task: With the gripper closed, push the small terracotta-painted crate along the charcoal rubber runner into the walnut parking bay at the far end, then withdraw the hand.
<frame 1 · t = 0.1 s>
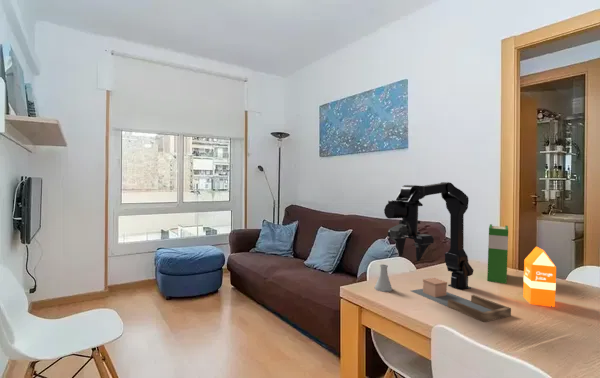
hand: (409, 258, 127), 15 cm above the table, tool pointing down, fingers open, 9 cm apart
flask: (383, 290, 135), on the table
hardback book: (496, 278, 156), on the table
parking bay: (477, 310, 113), resting on runner mat
crate: (434, 293, 130), resting on runner mat
orange juice: (538, 302, 124), on the table
runner mat: (455, 302, 121), on the table
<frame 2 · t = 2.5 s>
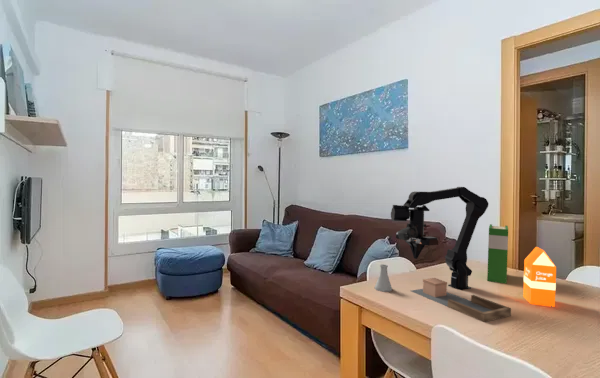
hand: (415, 258, 139), 12 cm above the table, tool pointing down, fingers closed
nothing on the table moved.
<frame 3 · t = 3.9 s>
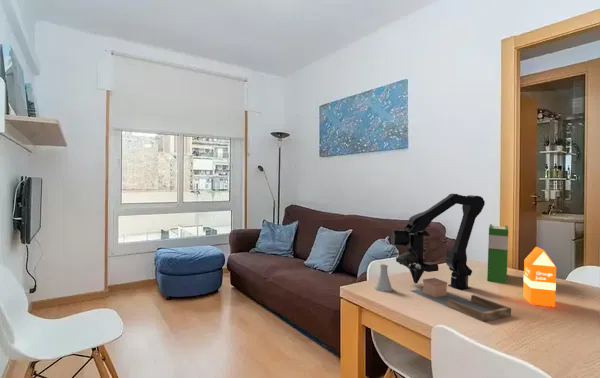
hand: (415, 283, 139), 2 cm above the table, tool pointing down, fingers closed
nothing on the table moved.
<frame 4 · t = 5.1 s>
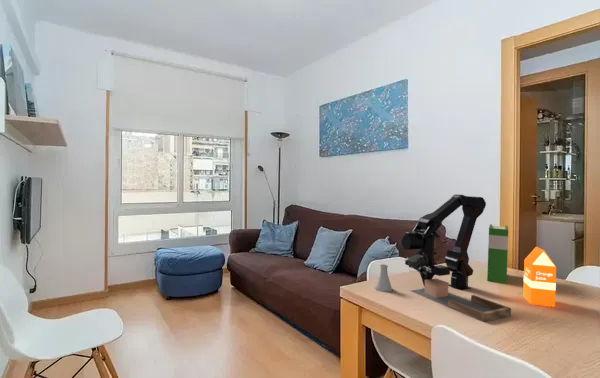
hand: (425, 287, 134), 2 cm above the table, tool pointing down, fingers closed
crate: (436, 294, 129), resting on runner mat, touching gripper
everything else where it was.
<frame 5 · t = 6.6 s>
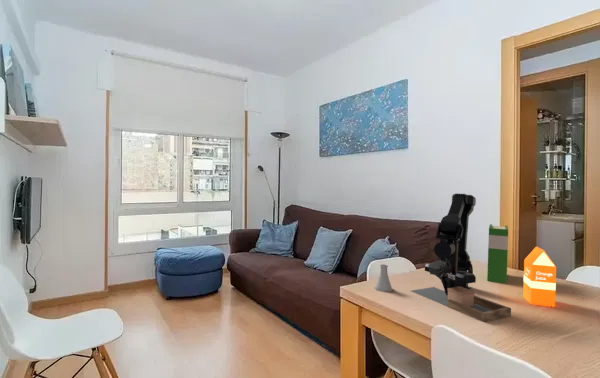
hand: (447, 295, 124), 2 cm above the table, tool pointing down, fingers closed
crate: (460, 303, 119), resting on runner mat, touching gripper
everything else where it was.
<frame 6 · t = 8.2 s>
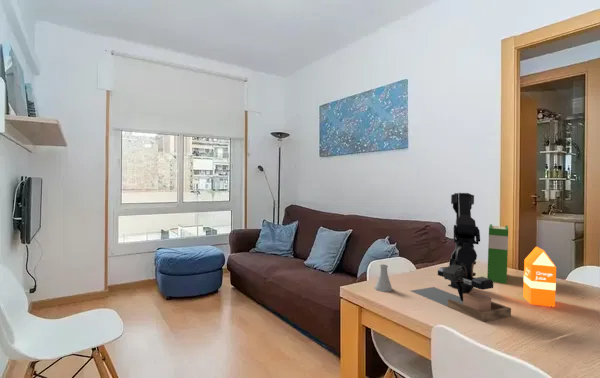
hand: (463, 301, 118), 2 cm above the table, tool pointing down, fingers closed
crate: (476, 310, 113), resting on runner mat, touching gripper
everything else where it was.
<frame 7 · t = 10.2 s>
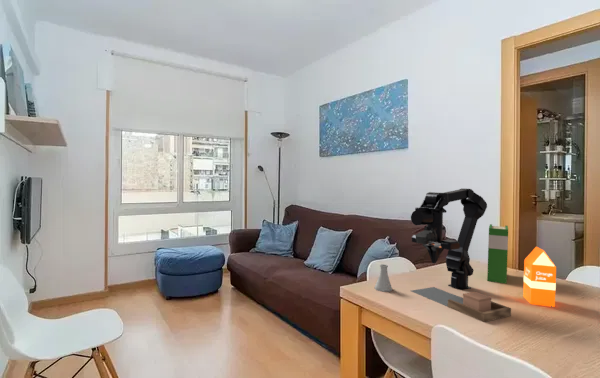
hand: (433, 263, 131), 12 cm above the table, tool pointing down, fingers closed
crate: (476, 310, 113), resting on runner mat
everything else where it was.
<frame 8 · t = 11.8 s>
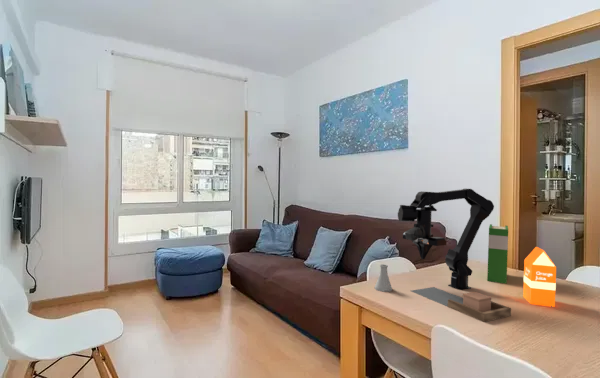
hand: (422, 258, 138), 12 cm above the table, tool pointing down, fingers closed
nothing on the table moved.
at the end: crate inside the target area (0.5 cm from its centre), resting on runner mat; crate tilted 0° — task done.
